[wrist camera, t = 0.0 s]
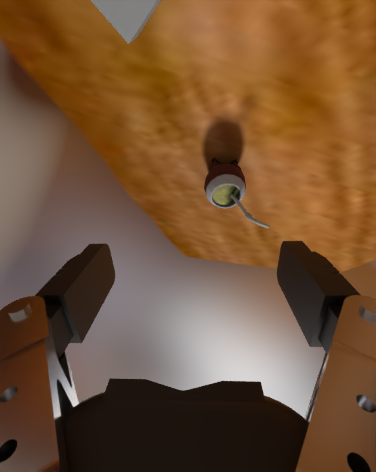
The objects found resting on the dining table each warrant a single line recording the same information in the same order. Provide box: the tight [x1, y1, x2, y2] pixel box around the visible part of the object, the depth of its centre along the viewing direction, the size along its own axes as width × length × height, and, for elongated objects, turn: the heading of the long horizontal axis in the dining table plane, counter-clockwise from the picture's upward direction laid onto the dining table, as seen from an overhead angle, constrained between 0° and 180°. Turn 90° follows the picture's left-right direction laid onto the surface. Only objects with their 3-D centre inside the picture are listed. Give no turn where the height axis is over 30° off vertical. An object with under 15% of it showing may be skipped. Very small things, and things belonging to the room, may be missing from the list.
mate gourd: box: [204, 158, 270, 229], centre depth 37 cm, size 8×8×15 cm
